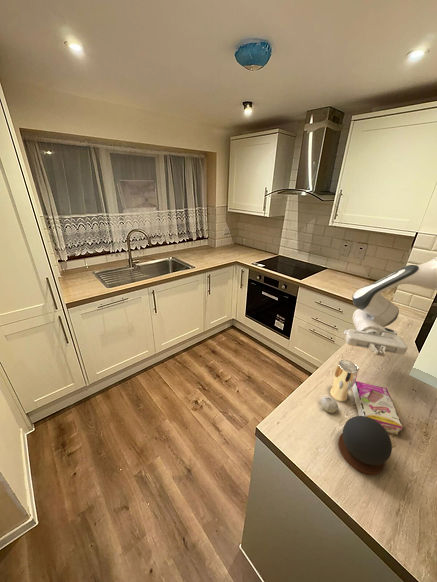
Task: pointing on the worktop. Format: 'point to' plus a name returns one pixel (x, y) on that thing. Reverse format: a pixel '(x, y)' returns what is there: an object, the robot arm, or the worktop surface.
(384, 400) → the candy bar box
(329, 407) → the garlic
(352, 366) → the cream cylindrical can
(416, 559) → the worktop surface
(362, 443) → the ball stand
